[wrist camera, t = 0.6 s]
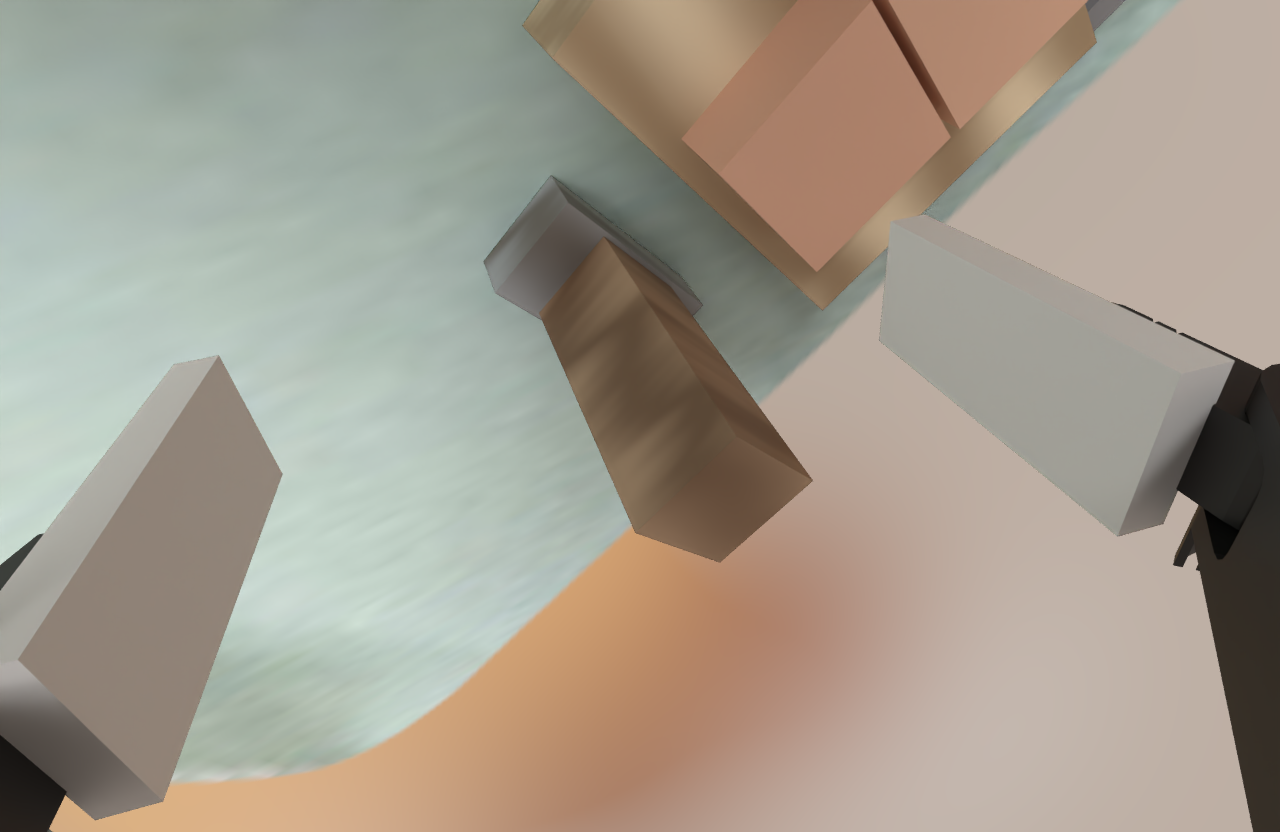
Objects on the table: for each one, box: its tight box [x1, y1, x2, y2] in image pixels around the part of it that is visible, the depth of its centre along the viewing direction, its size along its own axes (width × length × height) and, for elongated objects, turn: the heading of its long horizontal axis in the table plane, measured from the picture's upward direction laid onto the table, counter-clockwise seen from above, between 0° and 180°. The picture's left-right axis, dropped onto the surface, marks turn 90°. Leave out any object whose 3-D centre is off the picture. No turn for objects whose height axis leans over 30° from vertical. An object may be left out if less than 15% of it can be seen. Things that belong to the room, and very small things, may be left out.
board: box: [522, 0, 1097, 311], centre depth 24 cm, size 14×16×4 cm
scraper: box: [484, 176, 812, 562], centre depth 24 cm, size 4×8×14 cm, turn 45°
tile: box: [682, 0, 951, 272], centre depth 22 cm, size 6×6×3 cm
